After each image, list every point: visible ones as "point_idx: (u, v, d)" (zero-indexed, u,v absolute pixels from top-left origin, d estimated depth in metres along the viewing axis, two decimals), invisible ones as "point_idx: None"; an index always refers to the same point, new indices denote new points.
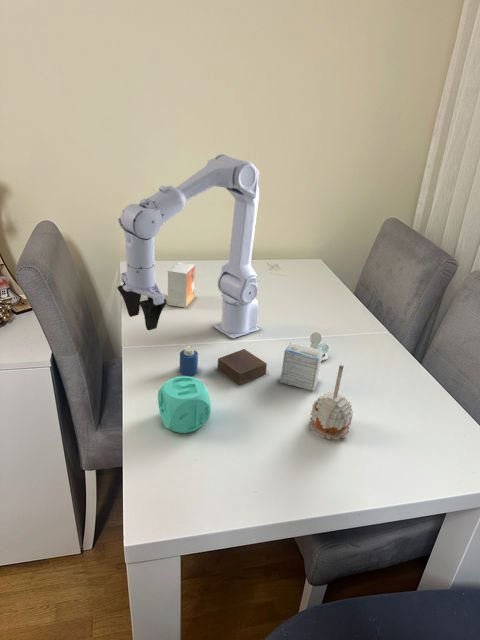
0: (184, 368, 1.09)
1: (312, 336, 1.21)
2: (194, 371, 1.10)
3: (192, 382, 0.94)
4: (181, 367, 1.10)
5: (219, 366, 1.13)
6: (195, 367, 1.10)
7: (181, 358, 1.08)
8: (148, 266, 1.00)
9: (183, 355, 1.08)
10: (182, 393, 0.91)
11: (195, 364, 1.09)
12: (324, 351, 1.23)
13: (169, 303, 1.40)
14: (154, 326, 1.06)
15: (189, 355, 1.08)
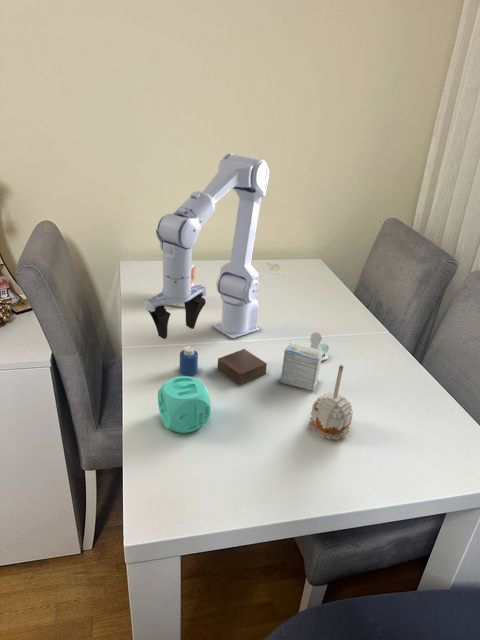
0: (184, 368, 1.09)
1: (312, 336, 1.21)
2: (194, 371, 1.10)
3: (192, 382, 0.94)
4: (181, 367, 1.10)
5: (219, 366, 1.13)
6: (195, 367, 1.10)
7: (181, 358, 1.08)
8: (188, 275, 0.99)
9: (183, 355, 1.08)
10: (182, 393, 0.91)
11: (195, 364, 1.09)
12: (324, 351, 1.23)
13: None
14: (162, 335, 1.04)
15: (189, 355, 1.08)
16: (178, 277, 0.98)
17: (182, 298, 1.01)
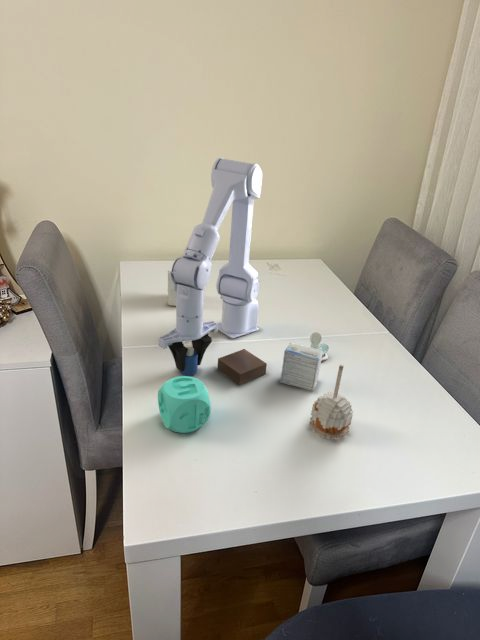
0: (184, 368, 1.09)
1: (312, 336, 1.21)
2: (194, 371, 1.10)
3: (192, 382, 0.94)
4: None
5: (219, 366, 1.13)
6: (195, 367, 1.10)
7: None
8: (201, 313, 1.03)
9: None
10: (182, 393, 0.91)
11: (195, 364, 1.09)
12: (324, 351, 1.23)
13: (169, 303, 1.40)
14: (179, 368, 1.09)
15: (189, 355, 1.08)
16: (193, 316, 1.02)
17: (194, 336, 1.04)
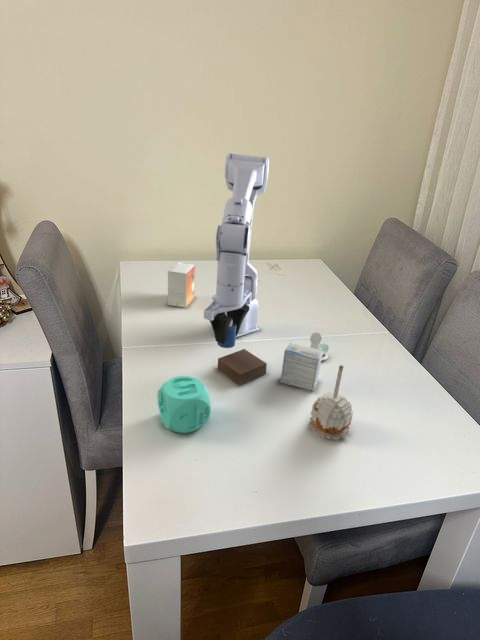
0: None
1: (312, 336, 1.21)
2: (234, 342, 1.08)
3: (192, 382, 0.94)
4: None
5: (219, 366, 1.13)
6: (235, 338, 1.08)
7: None
8: (244, 280, 1.02)
9: None
10: (182, 393, 0.91)
11: (235, 335, 1.07)
12: (324, 351, 1.23)
13: (169, 303, 1.40)
14: (220, 340, 1.06)
15: (229, 326, 1.06)
16: (238, 284, 1.00)
17: (237, 305, 1.02)
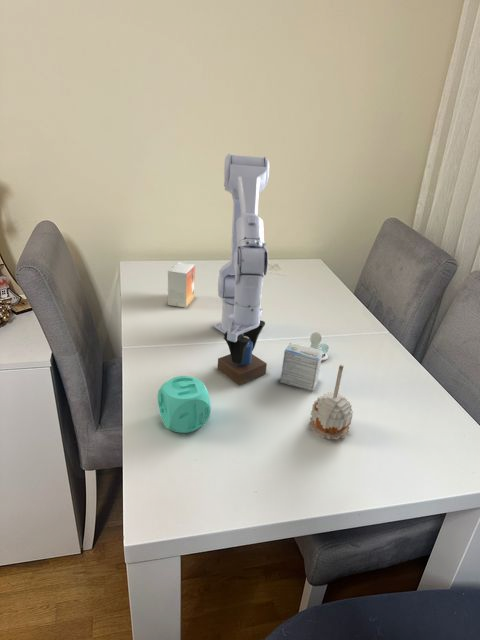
0: (243, 358, 1.09)
1: (312, 336, 1.21)
2: None
3: (192, 382, 0.94)
4: None
5: (219, 366, 1.13)
6: (251, 355, 1.11)
7: None
8: None
9: None
10: (182, 393, 0.91)
11: (251, 352, 1.11)
12: (324, 351, 1.23)
13: (169, 303, 1.40)
14: (238, 361, 1.08)
15: None
16: (257, 304, 1.03)
17: (256, 324, 1.05)
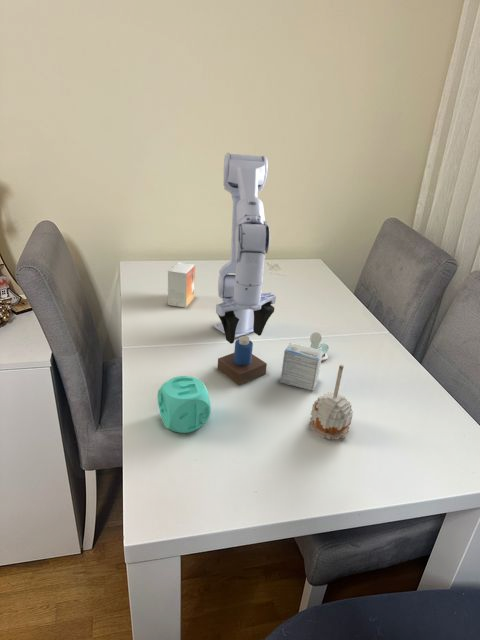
0: (243, 358, 1.09)
1: (312, 336, 1.21)
2: None
3: (192, 382, 0.94)
4: (239, 358, 1.10)
5: (219, 366, 1.13)
6: (251, 355, 1.11)
7: (240, 349, 1.08)
8: None
9: (241, 345, 1.08)
10: (182, 393, 0.91)
11: (251, 352, 1.11)
12: (324, 351, 1.23)
13: (169, 303, 1.40)
14: None
15: (246, 344, 1.09)
16: (259, 283, 1.01)
17: None
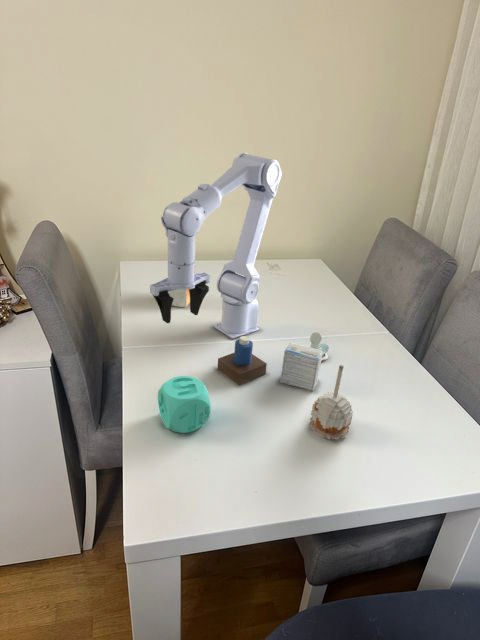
0: (243, 358, 1.09)
1: (312, 336, 1.21)
2: None
3: (192, 382, 0.94)
4: (239, 358, 1.10)
5: (219, 366, 1.13)
6: (251, 355, 1.11)
7: (240, 349, 1.08)
8: (191, 262, 1.04)
9: (241, 345, 1.08)
10: (182, 393, 0.91)
11: (251, 352, 1.11)
12: (324, 351, 1.23)
13: None
14: None
15: (246, 344, 1.09)
16: (180, 263, 1.02)
17: None
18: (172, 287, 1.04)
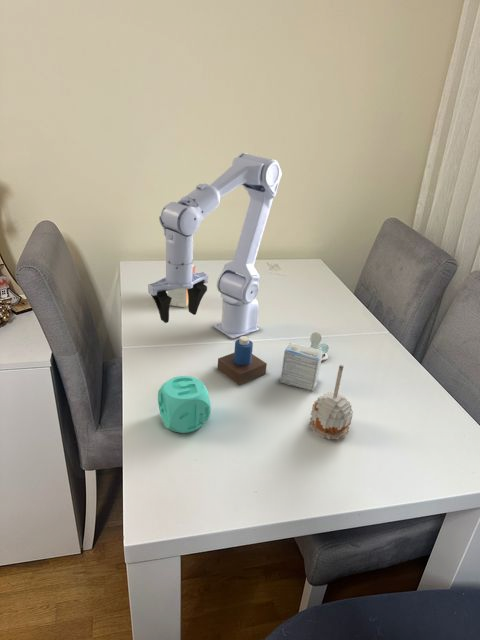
0: (243, 358, 1.09)
1: (312, 336, 1.21)
2: None
3: (192, 382, 0.94)
4: (239, 358, 1.10)
5: (219, 366, 1.13)
6: (251, 355, 1.11)
7: (240, 349, 1.08)
8: (189, 262, 1.04)
9: (241, 345, 1.08)
10: (182, 393, 0.91)
11: (251, 352, 1.11)
12: (324, 351, 1.23)
13: None
14: None
15: (246, 344, 1.09)
16: (178, 263, 1.03)
17: None
18: (170, 287, 1.04)
